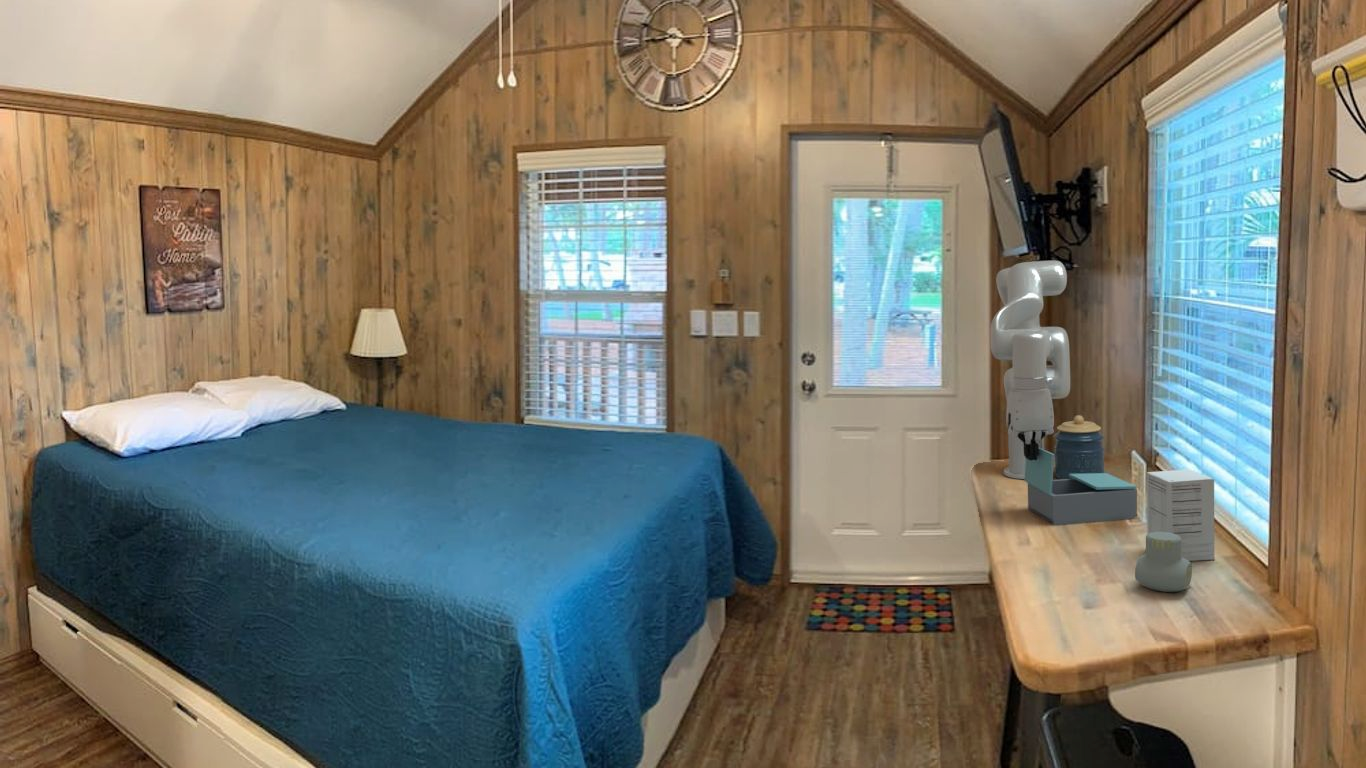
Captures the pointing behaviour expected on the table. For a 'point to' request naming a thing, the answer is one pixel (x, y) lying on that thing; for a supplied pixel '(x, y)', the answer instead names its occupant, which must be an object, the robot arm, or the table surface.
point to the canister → (1078, 448)
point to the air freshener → (1163, 564)
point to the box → (1081, 503)
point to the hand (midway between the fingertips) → (1031, 459)
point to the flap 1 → (1041, 471)
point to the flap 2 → (1102, 481)
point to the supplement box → (1183, 510)
